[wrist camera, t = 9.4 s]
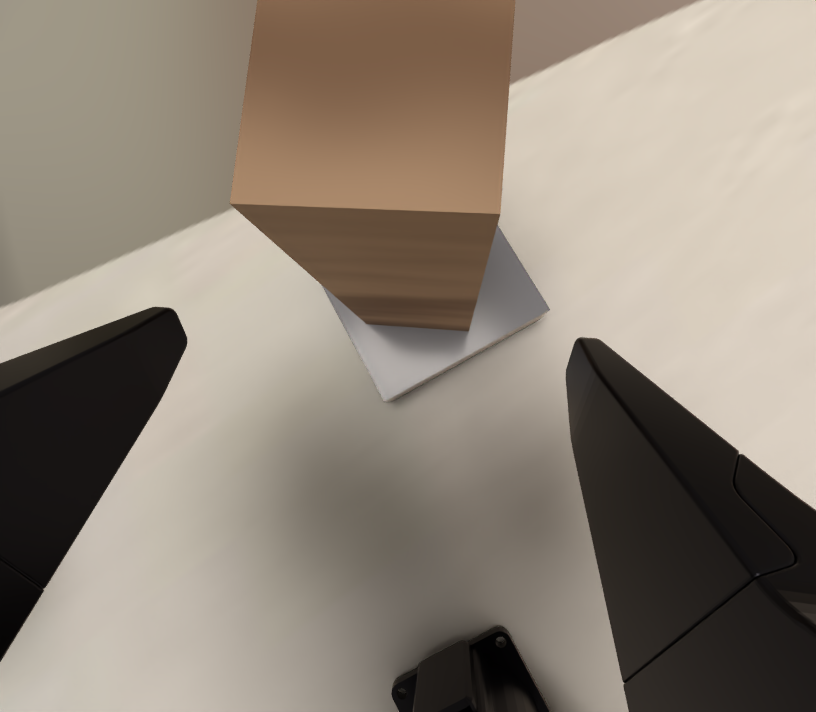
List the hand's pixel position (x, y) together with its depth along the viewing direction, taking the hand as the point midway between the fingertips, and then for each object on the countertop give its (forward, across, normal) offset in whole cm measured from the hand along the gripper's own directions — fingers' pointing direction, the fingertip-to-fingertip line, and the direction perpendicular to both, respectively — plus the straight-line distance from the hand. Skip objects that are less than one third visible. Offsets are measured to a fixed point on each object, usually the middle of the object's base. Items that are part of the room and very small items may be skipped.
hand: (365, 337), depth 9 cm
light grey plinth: (+12, 0, +6) cm, 14 cm away
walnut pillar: (+11, 0, +4) cm, 11 cm away
